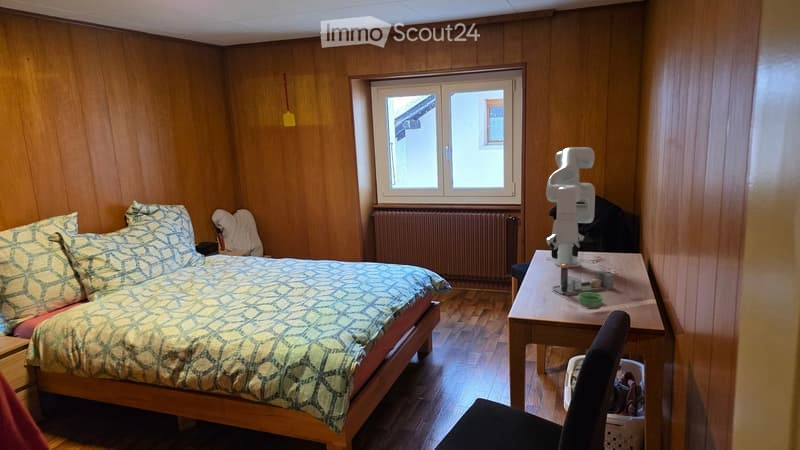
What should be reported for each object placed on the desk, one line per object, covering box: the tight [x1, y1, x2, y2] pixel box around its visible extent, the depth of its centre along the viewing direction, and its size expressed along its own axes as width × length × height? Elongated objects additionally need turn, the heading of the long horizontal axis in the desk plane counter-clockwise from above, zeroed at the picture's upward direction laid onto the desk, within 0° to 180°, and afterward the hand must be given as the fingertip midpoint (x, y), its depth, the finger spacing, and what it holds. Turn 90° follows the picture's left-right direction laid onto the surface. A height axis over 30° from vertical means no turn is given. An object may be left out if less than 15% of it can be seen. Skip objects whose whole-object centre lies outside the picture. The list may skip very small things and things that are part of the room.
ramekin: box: [578, 292, 604, 311], centre depth 196 cm, size 9×9×4 cm
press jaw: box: [552, 263, 583, 295], centre depth 209 cm, size 7×9×12 cm
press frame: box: [551, 269, 618, 301], centre depth 212 cm, size 12×24×8 cm, turn 106°
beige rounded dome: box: [590, 278, 601, 288], centre depth 213 cm, size 4×4×3 cm
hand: (564, 257), depth 206 cm, fingers open, 9 cm apart
